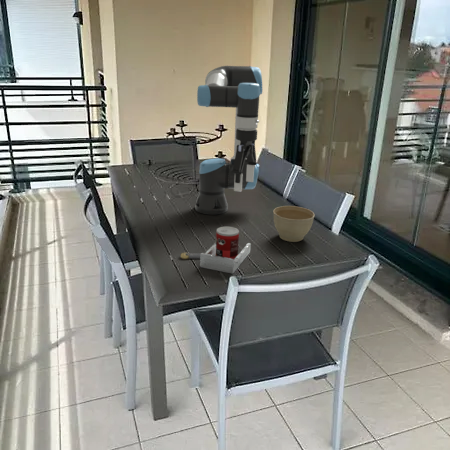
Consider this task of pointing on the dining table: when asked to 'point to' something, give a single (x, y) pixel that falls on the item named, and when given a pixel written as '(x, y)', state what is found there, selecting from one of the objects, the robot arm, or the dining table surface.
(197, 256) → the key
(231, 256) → the canned food
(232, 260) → the channel
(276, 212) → the planter bowl
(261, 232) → the dining table surface
